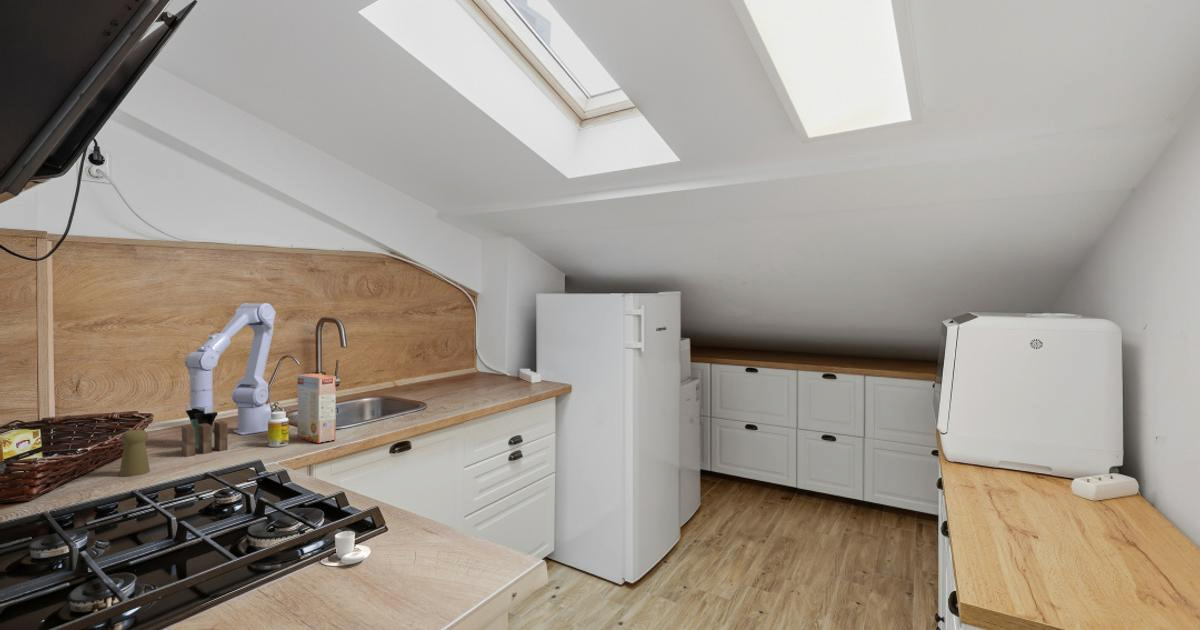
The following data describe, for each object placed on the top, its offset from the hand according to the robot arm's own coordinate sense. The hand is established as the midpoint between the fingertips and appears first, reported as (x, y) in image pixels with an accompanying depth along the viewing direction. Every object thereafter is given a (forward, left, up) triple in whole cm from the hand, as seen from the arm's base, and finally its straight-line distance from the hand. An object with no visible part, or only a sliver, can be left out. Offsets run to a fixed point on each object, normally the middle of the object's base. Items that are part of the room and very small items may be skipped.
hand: (201, 433), depth 171 cm
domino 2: (+2, +11, -3) cm, 12 cm away
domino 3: (-2, +11, -3) cm, 12 cm away
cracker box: (-26, +20, -4) cm, 33 cm away
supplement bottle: (-15, +19, -4) cm, 24 cm away
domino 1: (+6, +11, -3) cm, 13 cm away
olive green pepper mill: (+20, +22, -4) cm, 30 cm away
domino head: (0, 0, -3) cm, 3 cm away
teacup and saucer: (+10, +111, -4) cm, 112 cm away
